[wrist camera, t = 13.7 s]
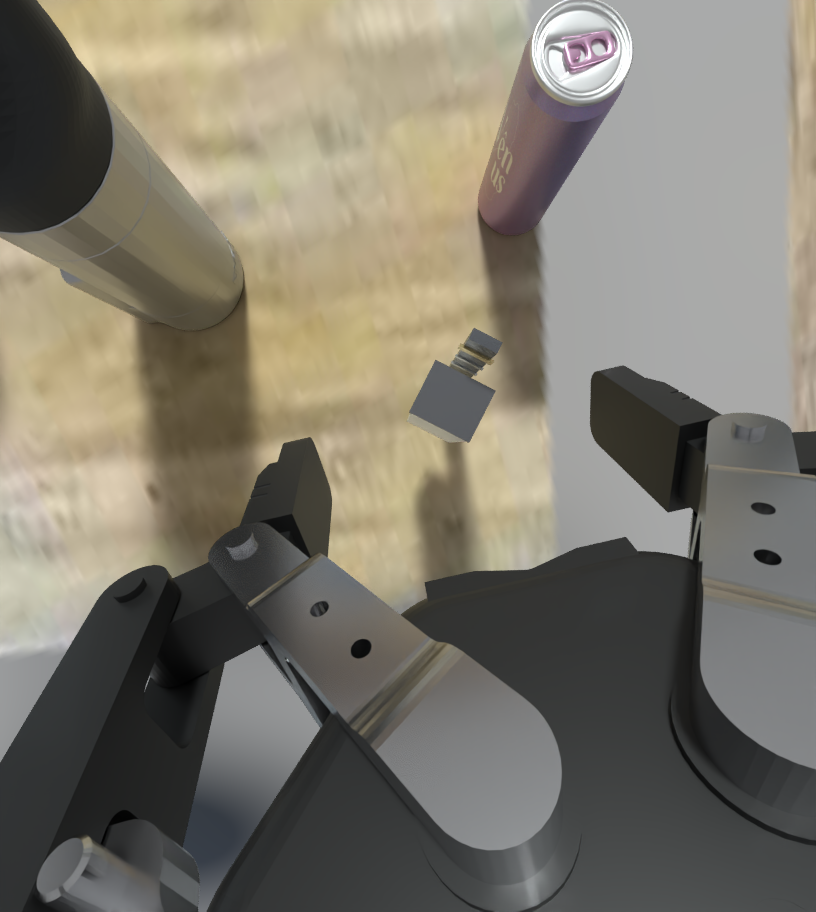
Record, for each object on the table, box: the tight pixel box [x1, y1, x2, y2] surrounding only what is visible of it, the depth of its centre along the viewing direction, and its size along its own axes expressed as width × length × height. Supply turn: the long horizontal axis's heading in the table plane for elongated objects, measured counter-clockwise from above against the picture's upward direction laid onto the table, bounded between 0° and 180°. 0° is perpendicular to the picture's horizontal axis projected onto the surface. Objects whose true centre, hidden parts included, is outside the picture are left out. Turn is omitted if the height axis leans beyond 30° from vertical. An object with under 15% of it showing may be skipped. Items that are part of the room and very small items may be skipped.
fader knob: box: [407, 360, 495, 443], centre depth 28 cm, size 3×4×9 cm
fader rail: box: [449, 328, 502, 378], centre depth 30 cm, size 2×3×17 cm, turn 63°
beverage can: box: [478, 0, 633, 235], centre depth 31 cm, size 6×6×15 cm
